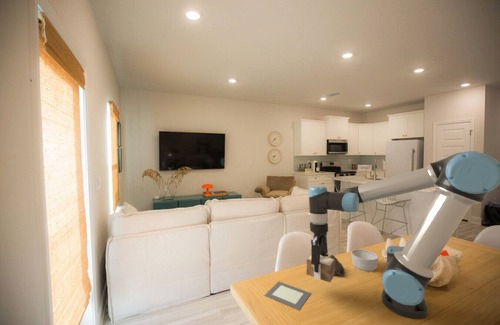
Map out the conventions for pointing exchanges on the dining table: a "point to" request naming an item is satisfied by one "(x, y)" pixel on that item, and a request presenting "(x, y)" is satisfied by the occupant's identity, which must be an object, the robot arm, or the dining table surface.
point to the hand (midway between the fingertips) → (320, 274)
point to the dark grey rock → (337, 266)
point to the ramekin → (364, 259)
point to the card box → (323, 268)
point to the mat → (288, 295)
